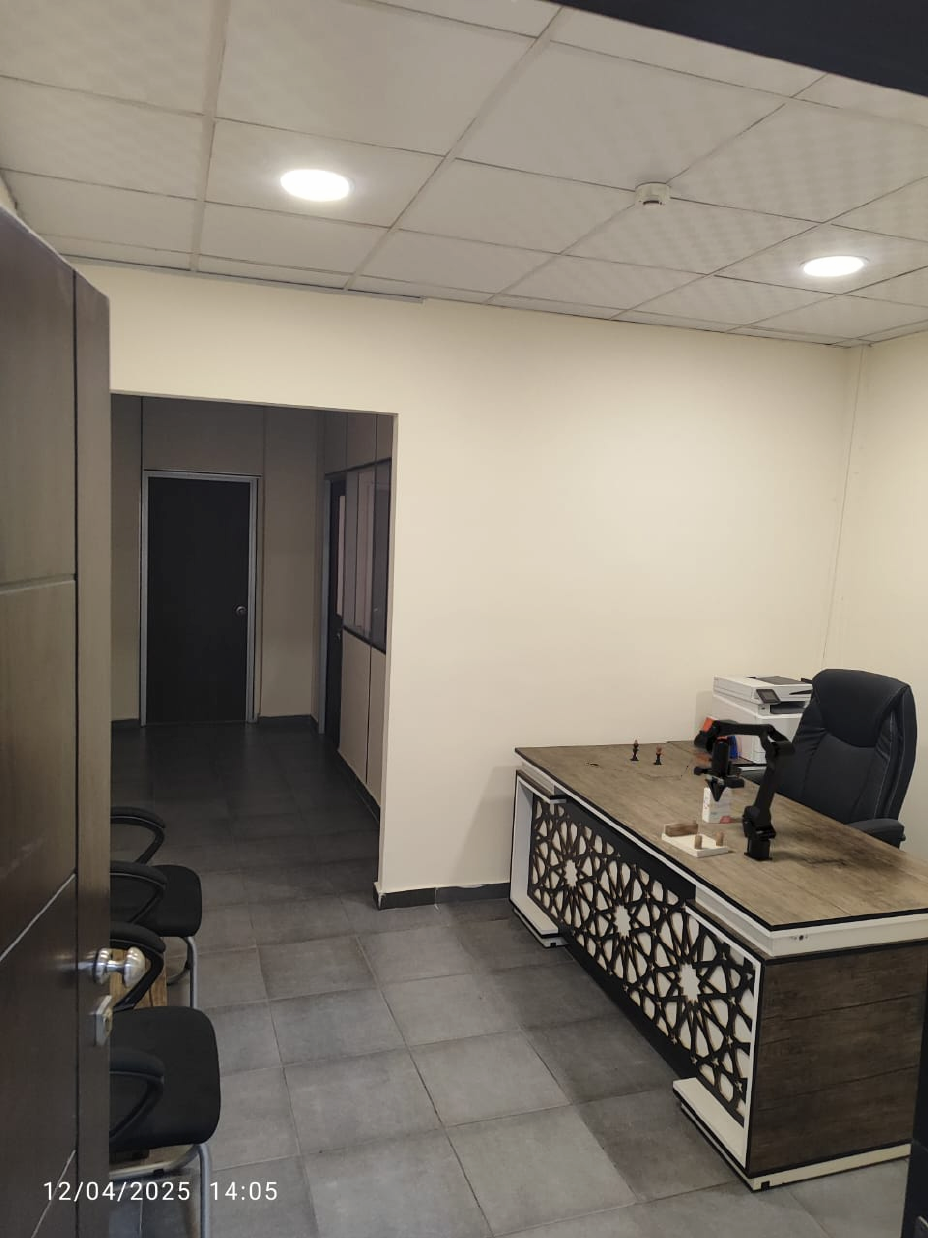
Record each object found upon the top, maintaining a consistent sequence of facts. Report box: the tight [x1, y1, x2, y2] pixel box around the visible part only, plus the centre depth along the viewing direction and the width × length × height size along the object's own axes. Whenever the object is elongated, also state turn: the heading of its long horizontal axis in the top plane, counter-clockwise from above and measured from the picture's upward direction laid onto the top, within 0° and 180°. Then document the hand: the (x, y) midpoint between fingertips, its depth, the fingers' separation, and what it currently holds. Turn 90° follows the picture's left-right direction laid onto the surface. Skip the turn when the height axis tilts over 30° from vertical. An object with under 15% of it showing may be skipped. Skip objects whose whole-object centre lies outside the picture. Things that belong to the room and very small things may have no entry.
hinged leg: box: [665, 819, 699, 837], centre depth 284 cm, size 12×2×4 cm, turn 115°
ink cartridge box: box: [701, 787, 733, 824], centre depth 306 cm, size 9×5×15 cm, turn 101°
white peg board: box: [661, 822, 729, 858], centre depth 280 cm, size 17×13×6 cm
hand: (716, 801), depth 290 cm, fingers closed
